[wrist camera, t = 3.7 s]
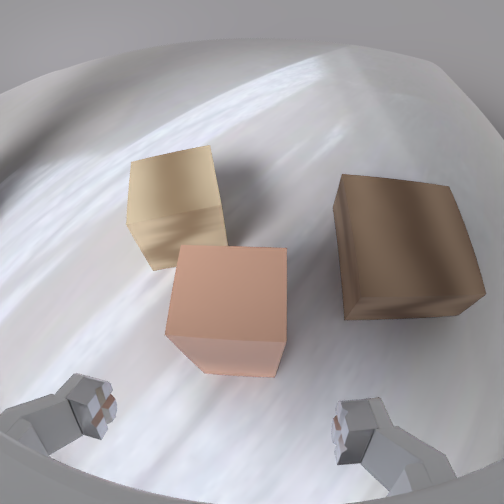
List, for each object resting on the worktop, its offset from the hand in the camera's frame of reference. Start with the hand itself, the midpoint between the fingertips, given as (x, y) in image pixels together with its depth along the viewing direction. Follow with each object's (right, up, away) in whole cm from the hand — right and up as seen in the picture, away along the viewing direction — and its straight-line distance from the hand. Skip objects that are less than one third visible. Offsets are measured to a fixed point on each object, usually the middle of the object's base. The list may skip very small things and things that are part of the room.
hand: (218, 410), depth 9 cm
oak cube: (-4, +7, +15) cm, 17 cm away
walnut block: (+13, +5, +13) cm, 19 cm away
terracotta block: (0, -1, +10) cm, 10 cm away
